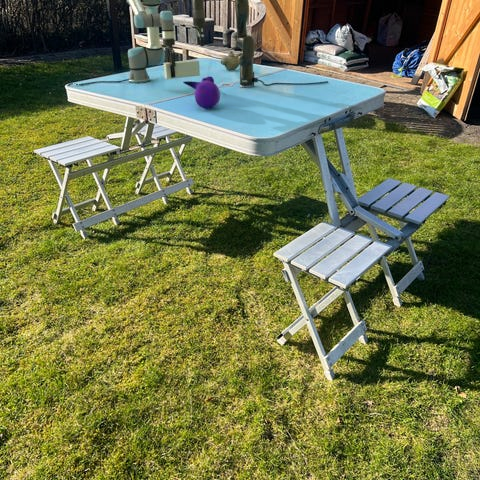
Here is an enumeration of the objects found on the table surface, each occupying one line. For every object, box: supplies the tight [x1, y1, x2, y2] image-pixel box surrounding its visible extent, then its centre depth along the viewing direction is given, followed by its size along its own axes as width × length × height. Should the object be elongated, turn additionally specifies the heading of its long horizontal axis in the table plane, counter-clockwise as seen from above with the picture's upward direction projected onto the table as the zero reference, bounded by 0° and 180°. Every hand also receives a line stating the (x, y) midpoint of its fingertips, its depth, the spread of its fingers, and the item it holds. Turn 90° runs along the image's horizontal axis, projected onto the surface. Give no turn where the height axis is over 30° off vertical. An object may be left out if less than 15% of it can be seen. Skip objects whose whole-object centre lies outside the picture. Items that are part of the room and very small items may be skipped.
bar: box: [163, 59, 201, 80], centre depth 296 cm, size 23×6×9 cm, turn 114°
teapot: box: [220, 50, 243, 72], centre depth 368 cm, size 21×12×15 cm, turn 120°
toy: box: [182, 75, 221, 110], centre depth 265 cm, size 16×18×27 cm
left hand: (171, 76), depth 296 cm, fingers closed on bar, 5 cm apart
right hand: (200, 45), depth 286 cm, fingers open, 8 cm apart
